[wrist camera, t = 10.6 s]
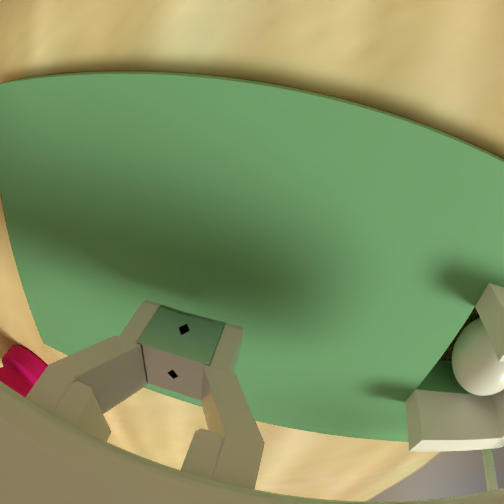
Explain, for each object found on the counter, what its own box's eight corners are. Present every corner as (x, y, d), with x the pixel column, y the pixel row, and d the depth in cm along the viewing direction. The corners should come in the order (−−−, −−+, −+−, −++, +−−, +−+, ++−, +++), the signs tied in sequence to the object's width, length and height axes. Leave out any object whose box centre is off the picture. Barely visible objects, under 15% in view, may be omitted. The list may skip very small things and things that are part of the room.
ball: (533, 320, 10) (478, 288, 11) (542, 366, 7) (478, 329, 9) (494, 373, 11) (443, 345, 13) (490, 422, 9) (431, 391, 10)
